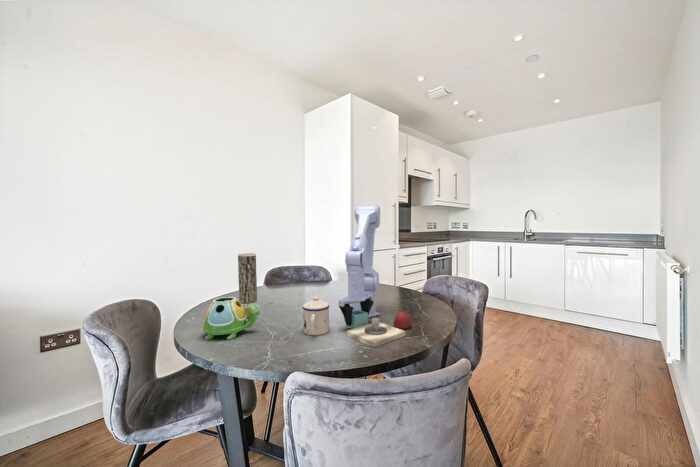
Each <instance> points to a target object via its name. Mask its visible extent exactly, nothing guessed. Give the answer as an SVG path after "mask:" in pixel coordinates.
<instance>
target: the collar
mask: <svg viewBox="0 0 700 467" xmlns="http://www.w3.org/2000/svg"><path fill="white" fill-rule="evenodd" d="M367 324H369V318H368V313H367V312H364V311H361V310H358V309H357V310H353V311H352V323H351V326H348V325H346V324H345V327H346V328H347V329H348V328H349V329H350V330H351V329H354V328H357V327H361V326H364V325H367Z"/></svg>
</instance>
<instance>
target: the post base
mask: <svg viewBox="0 0 700 467" xmlns="http://www.w3.org/2000/svg"><path fill="white" fill-rule="evenodd" d="M346 336H347V337H349V338H351V339H353V340H356V341H358V342H360V343H362V344H365V345H367V346H370V347H372V348H377V347H380V346H383V345H384V344H385V345H386V344H388V343H390V342H393V341H394V340H398V339H401V338H403V337H405V336H406V330H405V329H398V328H396V327H395V326H392V325H389V324H387V323H383V322H381V321H380V319H379V318H378V317H372V318H371V322H370V323H368V324H367V325H364V326H361V327H357V328H354V329H351V328H350V329H347V330H346Z"/></svg>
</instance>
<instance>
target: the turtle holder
mask: <svg viewBox="0 0 700 467" xmlns="http://www.w3.org/2000/svg"><path fill="white" fill-rule="evenodd" d="M260 311H261V308H260V307H259V304H258V303H257V304H254V305H251V306H250V307H249V309H248V313H249V315H250V316H249V318H247V317H246V313H245V310H244V307H243V306H242V304H241V303H240V302H239V299H237V298H236V297H234V296H225V297H224V296H223V297H217V298H215V299H213V300H212V303H210V305H209V306H208V307H207V309H206V310H205V313H204V318H203V321H202V323H203V331H204V333H205V334H207V335H206V336H205V337H204V340H212V339H214V337H215V336H220V335H227V337H226V340H229V339H230V340H233V338H234V339H235V338H236V337H237V333H239V332H241V331H243V330H245V329H248V328H252V327H253V326H254V325H255V324H256V322H257V320H258V314H260ZM230 340H229V341H230Z"/></svg>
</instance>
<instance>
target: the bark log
mask: <svg viewBox="0 0 700 467" xmlns="http://www.w3.org/2000/svg"><path fill="white" fill-rule="evenodd" d="M237 255H238V256H237V264H238V266H237V267H238V268H237V269H238V301H239V302H240V303H241V304H242V306H243V307H244V310H245V313H246V317H247V318H246V319H249V316H250V315H249V313H248V309H249V307H250V306H251V305H254V304H258V286H257V285H258V284H257V281H258V280H257V279H258V278H257V253H253V252H252V253H238V254H237Z"/></svg>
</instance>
